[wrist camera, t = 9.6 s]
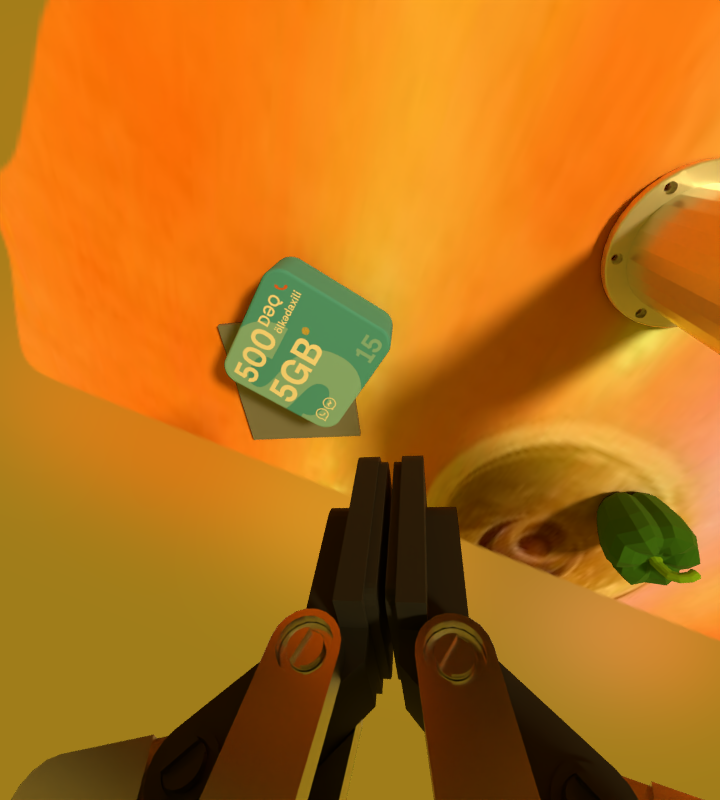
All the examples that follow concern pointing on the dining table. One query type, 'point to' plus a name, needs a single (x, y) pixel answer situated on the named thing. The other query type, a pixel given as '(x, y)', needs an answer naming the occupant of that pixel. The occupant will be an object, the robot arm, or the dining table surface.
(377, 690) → the robot arm
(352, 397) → the teal square box
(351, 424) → the mat
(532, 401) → the dining table surface
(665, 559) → the bell pepper
